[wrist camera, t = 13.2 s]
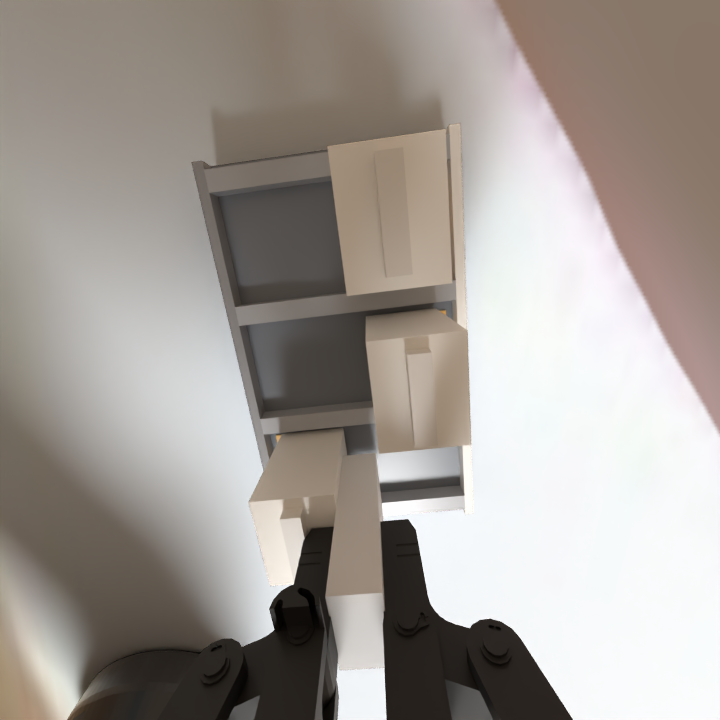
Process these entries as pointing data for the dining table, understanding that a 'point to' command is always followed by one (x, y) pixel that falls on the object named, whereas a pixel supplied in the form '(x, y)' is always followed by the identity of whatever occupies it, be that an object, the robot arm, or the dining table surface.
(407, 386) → the tab
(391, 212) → the tab
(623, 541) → the dining table surface
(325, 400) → the switch bank
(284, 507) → the tab
